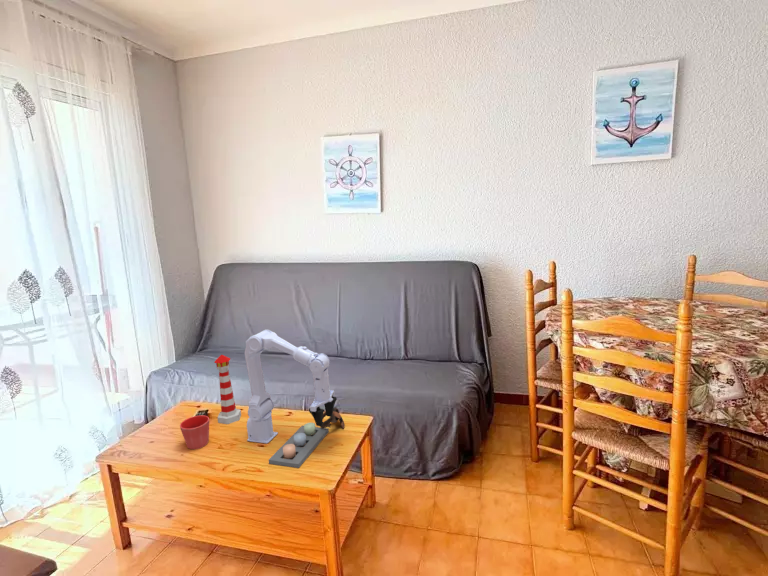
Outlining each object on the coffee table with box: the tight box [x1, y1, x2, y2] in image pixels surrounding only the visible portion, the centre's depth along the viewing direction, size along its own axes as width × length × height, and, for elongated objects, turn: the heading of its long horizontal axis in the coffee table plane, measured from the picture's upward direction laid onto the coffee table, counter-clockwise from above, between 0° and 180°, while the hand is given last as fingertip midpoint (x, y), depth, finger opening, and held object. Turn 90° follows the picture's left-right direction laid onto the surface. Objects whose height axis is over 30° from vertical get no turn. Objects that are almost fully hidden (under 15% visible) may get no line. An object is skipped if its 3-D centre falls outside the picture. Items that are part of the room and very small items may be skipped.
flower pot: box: [179, 414, 210, 450], centre depth 164 cm, size 11×11×10 cm
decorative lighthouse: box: [213, 354, 242, 425], centre depth 182 cm, size 10×9×30 cm
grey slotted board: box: [268, 425, 330, 469], centre depth 158 cm, size 12×25×2 cm, turn 163°
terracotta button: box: [283, 444, 296, 459], centre depth 151 cm, size 4×4×3 cm
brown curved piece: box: [319, 407, 345, 430], centre depth 173 cm, size 12×10×8 cm
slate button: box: [294, 433, 307, 447], centre depth 158 cm, size 4×4×3 cm
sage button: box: [303, 422, 316, 436], centre depth 166 cm, size 4×4×3 cm
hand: (324, 420), depth 157 cm, fingers open, 7 cm apart
